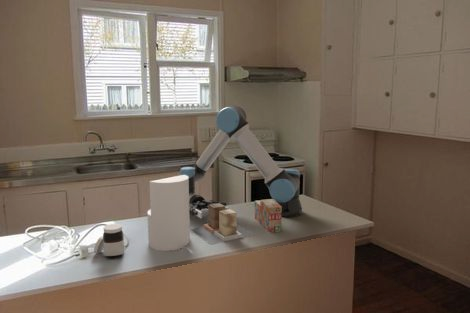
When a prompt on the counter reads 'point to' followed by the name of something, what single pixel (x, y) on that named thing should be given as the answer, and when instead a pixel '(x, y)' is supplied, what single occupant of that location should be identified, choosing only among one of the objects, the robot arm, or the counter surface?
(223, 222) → the oak pillar
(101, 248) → the spread jar
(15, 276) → the counter surface
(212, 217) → the walnut pillar
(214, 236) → the board
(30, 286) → the counter surface
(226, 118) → the robot arm
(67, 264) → the counter surface
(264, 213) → the stack of blocks
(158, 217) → the cylinder
